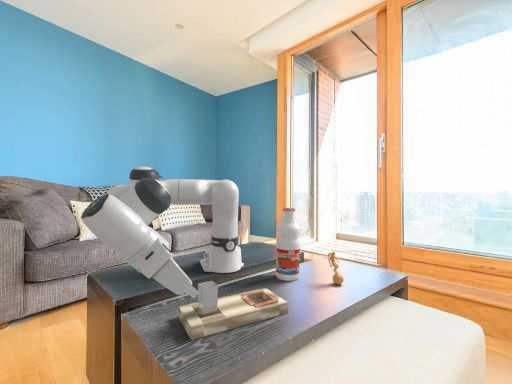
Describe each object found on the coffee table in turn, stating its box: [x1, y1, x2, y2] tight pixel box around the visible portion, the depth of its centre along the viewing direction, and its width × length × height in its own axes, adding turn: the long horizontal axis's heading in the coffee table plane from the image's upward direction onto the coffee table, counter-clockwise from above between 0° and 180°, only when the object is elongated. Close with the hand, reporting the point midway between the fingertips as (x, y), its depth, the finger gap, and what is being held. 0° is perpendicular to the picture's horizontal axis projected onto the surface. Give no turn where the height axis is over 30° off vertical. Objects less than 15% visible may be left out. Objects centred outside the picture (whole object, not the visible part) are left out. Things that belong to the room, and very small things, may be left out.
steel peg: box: [197, 280, 219, 318], centre depth 67 cm, size 4×4×10 cm
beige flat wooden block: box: [178, 287, 289, 341], centre depth 72 cm, size 12×28×3 cm, turn 120°
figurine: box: [327, 251, 344, 286], centre depth 97 cm, size 8×6×12 cm
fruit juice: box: [275, 207, 301, 282], centre depth 103 cm, size 9×9×28 cm
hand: (190, 287), depth 64 cm, fingers open, 8 cm apart
